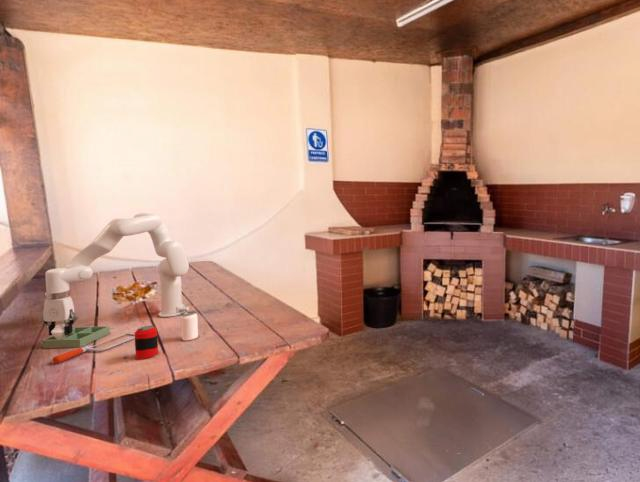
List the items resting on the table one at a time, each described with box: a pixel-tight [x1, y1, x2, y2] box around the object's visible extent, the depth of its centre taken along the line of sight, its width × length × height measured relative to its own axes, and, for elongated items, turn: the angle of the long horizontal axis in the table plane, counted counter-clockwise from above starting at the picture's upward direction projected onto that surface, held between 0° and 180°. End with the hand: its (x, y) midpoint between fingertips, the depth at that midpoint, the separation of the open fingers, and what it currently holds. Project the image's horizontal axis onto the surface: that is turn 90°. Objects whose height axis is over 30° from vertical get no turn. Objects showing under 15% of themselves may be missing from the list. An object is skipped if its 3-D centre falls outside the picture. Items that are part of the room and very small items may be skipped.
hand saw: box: [52, 331, 135, 365], centre depth 174 cm, size 33×3×10 cm
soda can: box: [134, 325, 159, 360], centre depth 166 cm, size 8×8×12 cm
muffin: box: [51, 322, 67, 339], centre depth 179 cm, size 6×6×7 cm
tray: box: [41, 325, 111, 349], centre depth 183 cm, size 16×16×4 cm
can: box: [180, 310, 199, 342], centre depth 184 cm, size 6×6×12 cm
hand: (60, 333), depth 179 cm, fingers closed on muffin, 6 cm apart
